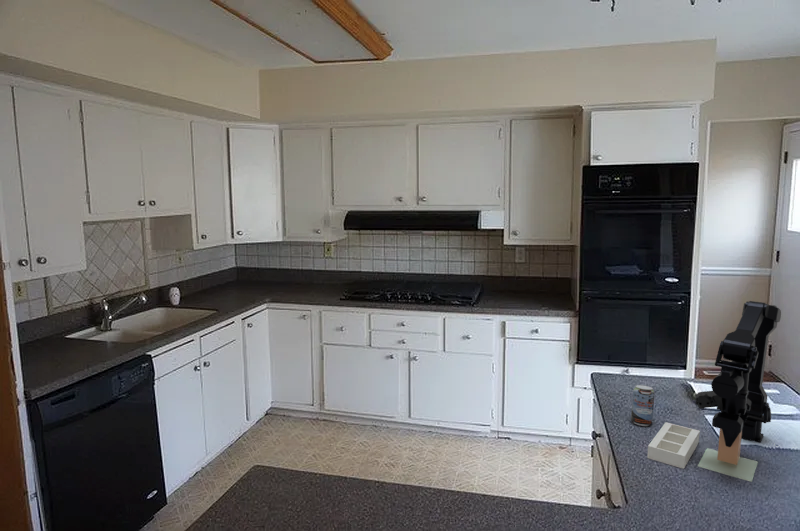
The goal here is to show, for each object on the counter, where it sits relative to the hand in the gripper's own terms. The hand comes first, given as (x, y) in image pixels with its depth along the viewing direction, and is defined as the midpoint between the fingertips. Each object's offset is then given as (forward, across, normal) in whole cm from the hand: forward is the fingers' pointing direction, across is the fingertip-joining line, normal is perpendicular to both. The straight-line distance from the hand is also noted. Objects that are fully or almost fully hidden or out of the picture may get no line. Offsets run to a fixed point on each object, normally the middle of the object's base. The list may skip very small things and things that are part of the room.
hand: (729, 442), depth 141 cm
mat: (+6, 0, 0) cm, 7 cm away
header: (+6, +1, -13) cm, 15 cm away
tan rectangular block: (+4, 0, 0) cm, 4 cm away
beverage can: (+7, -12, -25) cm, 28 cm away
